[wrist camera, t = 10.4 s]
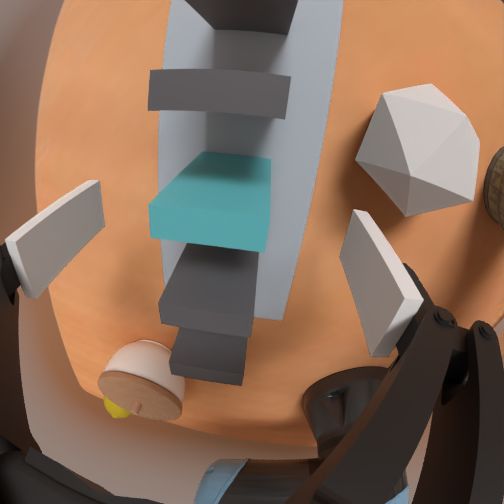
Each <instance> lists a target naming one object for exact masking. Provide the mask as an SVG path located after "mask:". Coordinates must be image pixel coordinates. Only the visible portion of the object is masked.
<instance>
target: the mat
mask: <svg viewBox="0 0 504 504" xmlns="http://www.w3.org/2000/svg"><path fill="white" fill-rule="evenodd" d="M343 1H344V0H298V3H297V7H296V10H295V13H294V17H293V20H292V23H291V27H290V30H289V33H288V35H282V34H274V33H265V32H254V31H240V30H214V29H213V28H212V27H211V26H210V25H209V24H208V23H207V22H206V21H205V20H204V19H203V18H202V17H201V16H200V15H199V14H198V13H197V12H196V11H195V10H194V9H193V8H192V7H191V6H190V5H189V4H188V3H187V2H186V1H185V0H172V1H171V7H170V13H169V19H168V26H167V33H166V40H165V49H164V58H163V68H162V69H224V70H240V71H251V72H261V73H269V74H277V75H284V76H291V83H290V90H289V97H288V104H287V111H286V117H285V120H284V119H277V118H270V117H262V116H254V115H244V114H234V113H221V112H205V111H172V110H159V135H158V193H160V192H161V191H162V190H163V189H164V188H165V187H166V186H167V185H168V184H169V183H170V182H171V181H172V180H173V179H174V178H175V177H176V176H177V175H178V174H179V173H180V172H181V171H182V170H183V169H184V168H185V167H186V166H187V165H188V164H190V163H191V162H192V161H193V160H194V159H195V158H196V157H197V156H198V155H199V154H200V153H201V152H202V151H203V152H215V153H226V154H236V155H245V156H253V157H261V158H269V159H271V201H270V223H269V229H268V235H267V242H266V248H265V253H264V252H259V260H258V272H257V284H256V296H255V308H254V317H255V318H263V319H272V320H281V321H282V319H283V315H284V311H285V307H286V304H287V300H288V296H289V292H290V288H291V284H292V281H293V277H294V273H295V269H296V264H297V260H298V256H299V252H300V248H301V244H302V239H303V235H304V231H305V226H306V222H307V218H308V213H309V209H310V204H311V199H312V195H313V190H314V185H315V180H316V175H317V171H318V166H319V160H320V155H321V150H322V145H323V139H324V134H325V128H326V123H327V117H328V111H329V105H330V99H331V93H332V87H333V80H334V74H335V67H336V60H337V52H338V45H339V37H340V29H341V20H342V11H343ZM186 244H187V242H179V241H172V240H164V239H161V252H162V264H163V275H164V285H165V287H166V285H167V283H168V281H169V279H170V277H171V275H172V272H173V270H174V268H175V266H176V264H177V262H178V260H179V258H180V256H181V254H182V252H183V250H184V248H185V246H186Z"/></svg>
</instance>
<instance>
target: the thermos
mask: <svg viewBox="0 0 504 504" xmlns="http://www.w3.org/2000/svg"><path fill="white" fill-rule="evenodd" d="M484 199H485V206H486V208H487V211H488V213H489V215H490V216H491V217H492V218H493V219H494V220H495V221H496V222H497V223H500V224H501V225H502V228H503V229H504V147H502V148H500V150H499V151H498V152H497V153H496V154H495V156H494V157H493V159H492V161H491V163H490V165H489V167H488V171H487V175H486V178H485V185H484Z"/></svg>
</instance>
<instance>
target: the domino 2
mask: <svg viewBox="0 0 504 504" xmlns="http://www.w3.org/2000/svg"><path fill="white" fill-rule="evenodd" d="M290 83H291V76H284V75H277V74H269V73H261V72H251V71H240V70H224V69H161V70H150V81H149V96H148V111H159V110H172V111H205V112H221V113H234V114H244V115H254V116H262V117H270V118H277V119H284V120H285V117H286V111H287V104H288V97H289V90H290Z"/></svg>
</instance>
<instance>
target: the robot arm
mask: <svg viewBox="0 0 504 504" xmlns="http://www.w3.org/2000/svg"><path fill="white" fill-rule="evenodd" d="M104 226H105V222H104V214H103V206H102V197H101V186H100V180H88V181H86V182H85V183H83V184H81V185H80V186H78V187H77V188H75V189H74V190H72V191H70V192H69V193H67V194H66V195H64V196H63V197H61V198H60V199H58V200H57V201H55V202H54V203H52V204H51V205H50V206H48V207H47V208H45V209H44V210H42V211H41V212H40V213H38V214H37V215H36V216H34V217H33V218H32V219H30V220H29V221H28V222H26V223H25V224H24V225H22V226H21V227H20V228H19V229H17V230H16V231H15V232H14V233H12V234H11V235H10V236H9V237H7V238H6V239H5V243H4V244H3V245H2V246H0V504H163V503H158V502H155V501H151V500H148V499H140V498H129V497H120V496H115V495H113V494H112V493H110V492H109V491H107V490H106V489H104V488H103V487H101V486H99V485H98V484H96V483H94V482H92V481H90V480H88V479H86V478H84V477H82V476H80V475H78V474H77V473H75V472H73V471H71V470H69V469H68V468H66V467H65V466H63V465H61V464H60V463H58V462H56V461H54V460H52V459H50V458H49V457H47V456H45V455H44V454H42V451H41V450H40V447H39V445H38V444H37V442H36V441H35V439H34V438H33V437H32V434H31V432H30V429H29V424H28V420H27V415H26V409H25V404H24V397H23V389H22V382H21V373H20V360H19V339H18V338H19V337H18V315H19V294H18V292H17V288H18V287H19V286H20V285H21V287H22V289H23V292H24V294H25V296H27V297H29V298H32V299H35V300H37V298H38V297H39V296H40V295H41V294H42V292H43V291H44V290H45V289H46V288H47V287H48V285H49V284H50V283H51V282H52V281H53V280H54V278H55V277H56V276H57V275H58V274H59V273H60V272H61V271H62V270H63V268H64V267H65V266H66V265H67V264H68V263H69V262H70V261H71V260H72V259H73V258H74V257H75V256H76V254H77V253H78V252H79V251H80V250H81V249H82V248H83V247H84V246H85V245H86V244H87V243H88V242H89V241H90V240H91V239H92V238H93V237H94V236H95V235H96V234H97V233H98V232H99V231H100V230H101V229H102V228H103V227H104ZM339 257H340V260H341V263H342V265H343V268H344V271H345V274H346V277H347V280H348V283H349V286H350V289H351V292H352V295H353V298H354V301H355V305H356V308H357V311H358V314H359V318H360V321H361V324H362V328H363V331H364V335H365V338H366V342H367V345H368V349H369V352H370V356H371V357H389V355H390V354H391V352H392V351H393V349H394V348H395V346H396V347H397V350H398V353H399V355H398V356H397V358H396V359H395V360H394V362H393V363H392V364H391V366H390V367H389V368H388V369H387V368H383V367H362V368H355V369H350V370H346V371H343V372H339V373H336V374H333V375H331V376H328V377H326V378H324V379H322V380H320V381H318V382H317V383H315V384H314V385H312V386H311V387H310V388H309V389H308V390H307V391H306V393H305V394H304V397H303V405H304V413H305V416H306V418H307V421H308V423H309V425H310V427H311V430H312V432H313V434H314V437H315V439H316V441H317V447H318V458H313V459H291V460H253V459H249V458H246V459H220V460H218V461H215V462H214V463H212V464H211V465H210V467H209V468H208V469H207V470H206V472H205V474H204V476H203V477H202V480H201V482H200V484H199V487H198V490H197V492H196V496H195V500H194V504H409V498H408V489H409V485H408V482H407V475H406V467H407V465H408V463H409V461H410V459H411V458H412V455H413V454H414V452H415V449H416V448H417V445H418V443H419V441H420V439H421V437H422V435H423V432H424V430H425V428H426V426H427V424H428V421H429V419H430V416H431V414H432V411H433V415H432V421H431V428H430V434H429V439H428V445H427V449H426V454H425V458H424V462H423V467H422V471H421V474H420V478H419V482H418V485H417V489H416V492H415V495H414V498H413V501H412V504H502V502H503V496H504V369H503V362H502V357H501V351H500V346H499V341H498V337H497V335H496V332H495V331H494V330H493V328H492V326H490V325H489V324H488V323H485V322H484V321H480V320H478V321H475V322H474V323H473V325H472V326H471V328H470V329H469V330H468V329H465V328H462V327H459V326H457V322H456V319H455V318H454V317H453V315H452V314H451V313H450V312H448V311H447V310H446V309H444V308H441V307H438V306H435V305H434V304H433V302H432V300H431V298H430V297H429V295H428V293H427V292H426V290H425V288H424V287H423V285H422V283H421V282H420V281H419V279H418V277H417V275H416V274H415V272H414V271H413V270H412V269H411V268H410V267H409V266H408V265H407V264H406V263H402V262H401V261H400V259H399V258H398V256H397V255H396V253H395V251H394V250H393V248H392V247H391V245H390V244H389V242H388V241H387V239H386V238H385V236H384V235H383V233H382V232H381V231H380V229H379V228H378V226H377V225H376V223H375V222H374V221H373V219H372V218H371V216H370V215H369V214H368V212H366V211H361V210H356V209H353V212H352V216H351V219H350V223H349V226H348V230H347V233H346V236H345V240H344V243H343V246H342V250H341V253H340V256H339ZM467 379H468V380H467Z"/></svg>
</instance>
